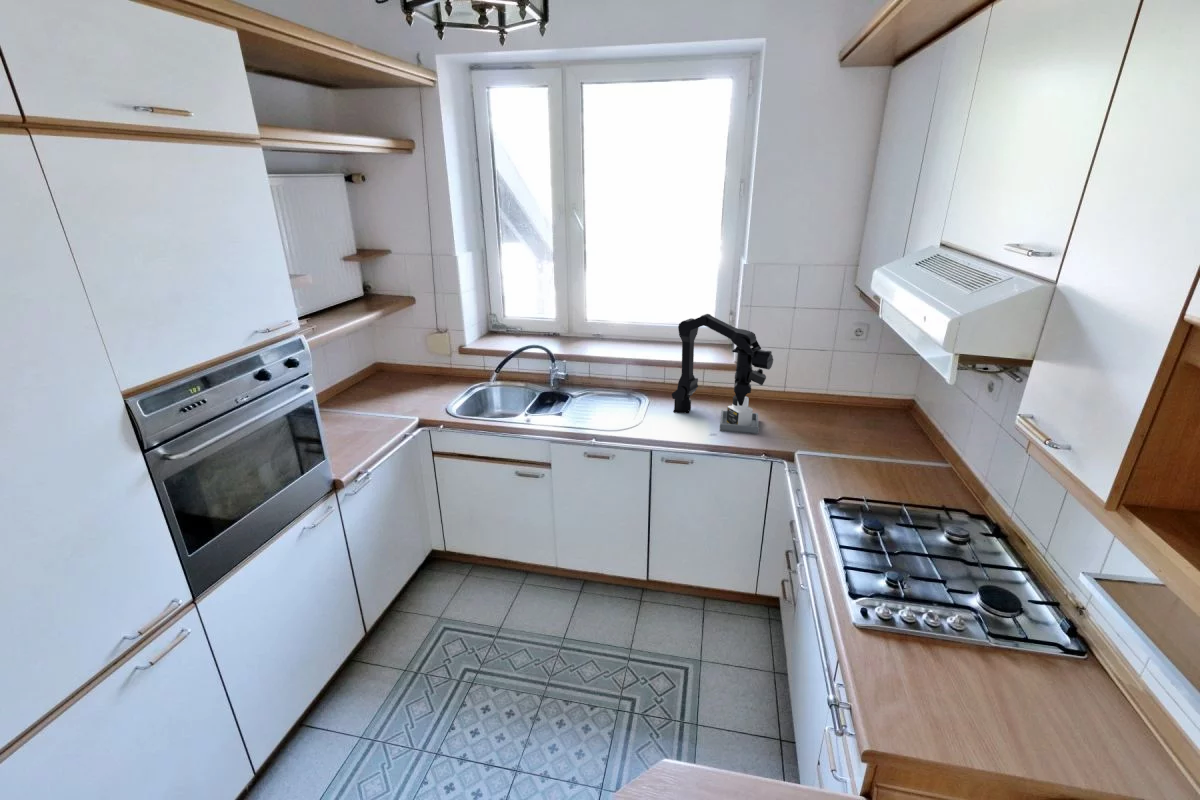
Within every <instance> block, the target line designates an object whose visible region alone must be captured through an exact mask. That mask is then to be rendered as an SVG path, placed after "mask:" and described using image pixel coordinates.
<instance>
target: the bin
mask: <svg viewBox="0 0 1200 800" xmlns="http://www.w3.org/2000/svg"><path fill="white" fill-rule="evenodd" d="M719 423H720V424H719V432H725V431H726V432H727V433H737V432H738V433H739V434H748V433H750V434H751V435H759V429H760V427H759V413H758V412H752V423H751V425H750V426H747V425H736V424H729V423H727V410H723V409H722V410H721V413H720V421H719Z"/></svg>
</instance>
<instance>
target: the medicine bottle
mask: <svg viewBox="0 0 1200 800" xmlns="http://www.w3.org/2000/svg"><path fill="white" fill-rule="evenodd" d="M749 401H750V398H749V396H748V395H746V396H745V399H744V402H743V405H742V406H740V405H739V403H738V400H737V397H736V394H734V395H733V397H732V404H731V405H728V406H727V409H726V411H727V423H729V424H736V425H747V426H750V425H751V423H752V413H754V412H753V411H754V409H753V408H752V407H750V406H749Z"/></svg>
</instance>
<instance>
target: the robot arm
mask: <svg viewBox="0 0 1200 800" xmlns="http://www.w3.org/2000/svg"><path fill="white" fill-rule="evenodd" d="M703 326H705V327H707V328H708V329H710V330H712V331H714V332H716V333H718V334H720V335H722V336H724V337H726V338H728V339H729V340H730V341H731V342H732V344H734V345H735V346H736V347H735V348H733V349H732V351H731V352H732V353H736V354H737V356H736V366H735V367H736V368H735V373H734V386H733V392H734V395H736V397H737V400H738V403H739V405H740V406H742V405H743V402H744V399H745V396H747V394H751V393H752V392H751V391H752V385H751V383H752V382H754V383H756V384H758V385H760V386H763V385H764V383H765V381H766V380H767V376H766V374H765V373H764V370H770V369H772V367H773V363H774V357H773V356H774V355H773V354H772V352H773V351H772V350H763V349H762V347H761V346H760V344H759V342H758V340H757V336H756V334H755V333H754V332H753V331H751V330H747V329H743V328H737V327H734V326H733V325H731V324H728V323H726V322H724V321H723V320H720V319H719V318H716V317H714V316H712V315H711V314H709V313H705V314H702V315H700V317H696V318H688V319H685V320H682V321H681V322H680V323H679V324H678V328H677V329H678V336H679V339H680V340H681V375H680V378H679V380H678V381H677V387H676V390H675V391H673V392H672V393H671V397H672V399H673V400H674V406H673V407H674V408H673V413H675V412H677V413H679V414H690V412H691V409H692V399H691V396H693V394H695V392H696V391H697V389H698V388H699V378H697V377H695V375H694V356H695V354H694V352H695V351H694V350H695V340H696V337H697V335H698V331H699V328H700V327H703ZM753 367H755V368H757V369H756V370H754V369H753ZM763 369H764V370H763ZM677 413H676V414H677Z"/></svg>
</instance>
